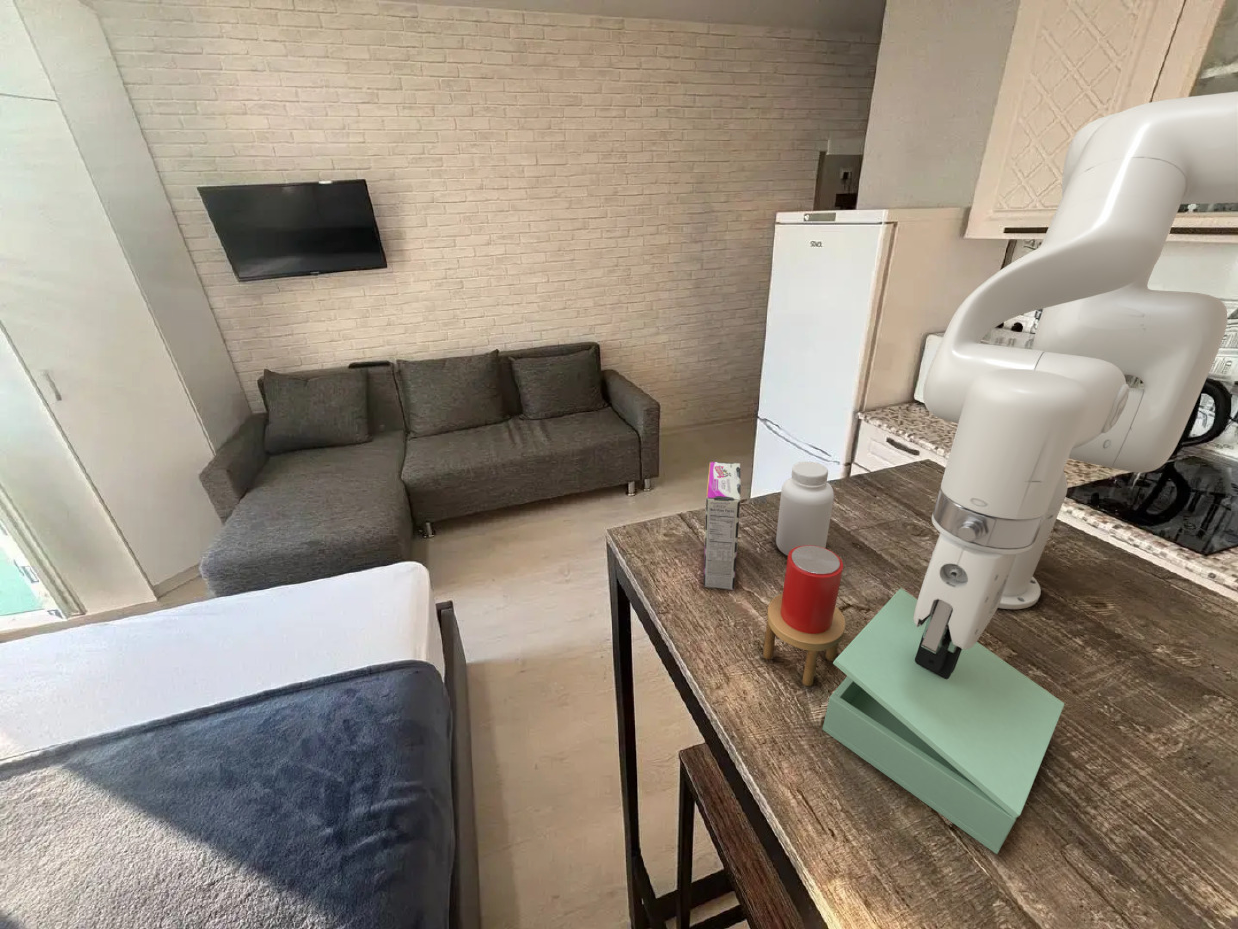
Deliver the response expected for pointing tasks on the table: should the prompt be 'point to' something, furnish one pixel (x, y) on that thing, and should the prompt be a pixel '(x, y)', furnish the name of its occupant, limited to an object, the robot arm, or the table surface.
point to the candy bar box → (722, 525)
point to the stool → (803, 638)
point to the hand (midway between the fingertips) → (933, 666)
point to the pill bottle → (804, 508)
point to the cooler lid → (957, 703)
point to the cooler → (913, 764)
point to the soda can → (811, 588)
